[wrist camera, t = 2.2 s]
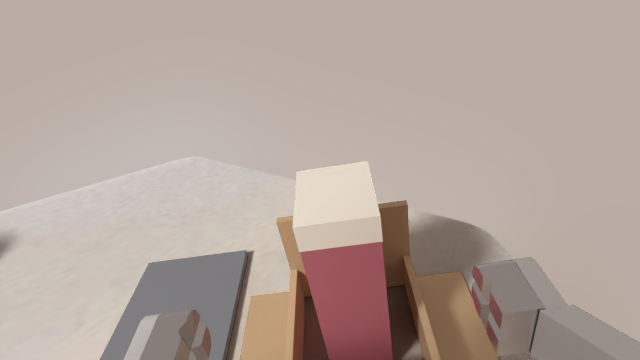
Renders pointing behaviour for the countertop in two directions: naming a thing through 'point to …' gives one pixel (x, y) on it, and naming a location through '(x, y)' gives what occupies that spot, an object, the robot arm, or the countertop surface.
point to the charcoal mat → (186, 298)
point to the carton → (423, 291)
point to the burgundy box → (344, 259)
